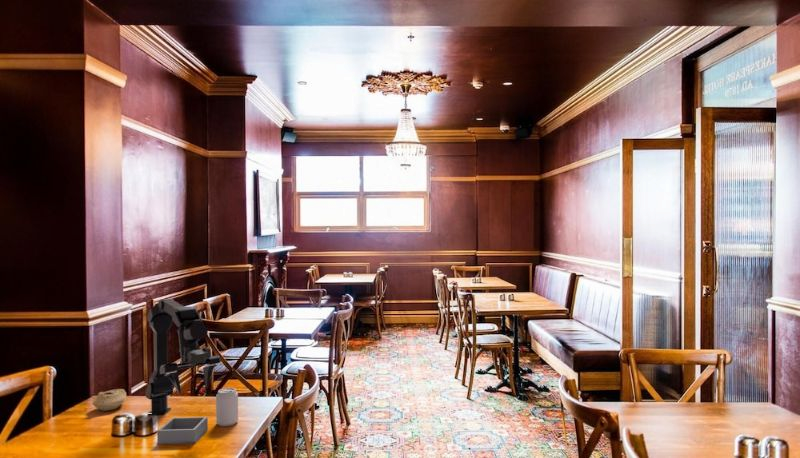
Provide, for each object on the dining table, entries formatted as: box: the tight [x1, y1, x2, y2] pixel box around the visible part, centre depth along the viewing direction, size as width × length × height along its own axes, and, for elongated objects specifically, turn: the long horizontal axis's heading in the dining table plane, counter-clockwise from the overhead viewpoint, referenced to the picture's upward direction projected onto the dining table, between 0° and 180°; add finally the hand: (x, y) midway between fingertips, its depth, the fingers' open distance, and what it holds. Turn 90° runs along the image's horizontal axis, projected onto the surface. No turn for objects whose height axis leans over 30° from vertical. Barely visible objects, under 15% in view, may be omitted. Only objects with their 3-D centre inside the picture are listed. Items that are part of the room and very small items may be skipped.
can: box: [215, 387, 239, 427], centre depth 186 cm, size 8×8×12 cm
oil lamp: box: [91, 388, 127, 412], centre depth 205 cm, size 11×15×8 cm
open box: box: [156, 416, 209, 446], centre depth 173 cm, size 12×12×4 cm
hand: (193, 390), depth 174 cm, fingers open, 9 cm apart
